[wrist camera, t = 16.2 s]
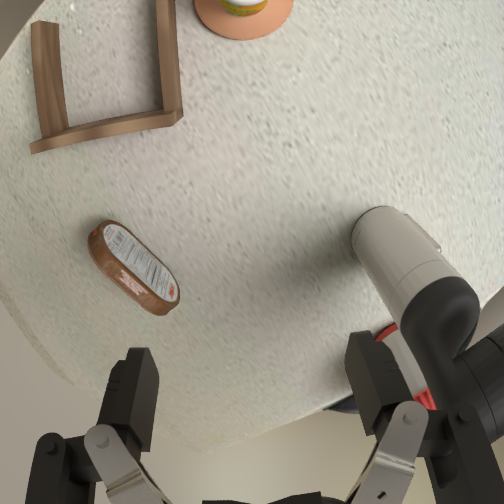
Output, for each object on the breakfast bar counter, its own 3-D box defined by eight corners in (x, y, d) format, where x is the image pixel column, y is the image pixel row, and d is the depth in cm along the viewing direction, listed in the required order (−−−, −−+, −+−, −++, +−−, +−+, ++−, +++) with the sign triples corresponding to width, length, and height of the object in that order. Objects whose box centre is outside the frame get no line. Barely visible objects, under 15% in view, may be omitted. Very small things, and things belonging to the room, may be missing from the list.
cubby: (174, -7, 27) (160, -26, 20) (183, 116, 35) (171, 126, 28) (50, 26, 26) (16, 22, 19) (63, 138, 34) (31, 154, 28)
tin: (99, 221, 41) (75, 252, 34) (112, 207, 40) (90, 237, 33) (172, 290, 48) (163, 329, 40) (186, 279, 47) (180, 318, 40)
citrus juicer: (360, 317, 53) (400, 412, 36) (440, 304, 54) (491, 382, 36) (347, 372, 61) (373, 456, 44) (418, 358, 62) (453, 430, 45)
